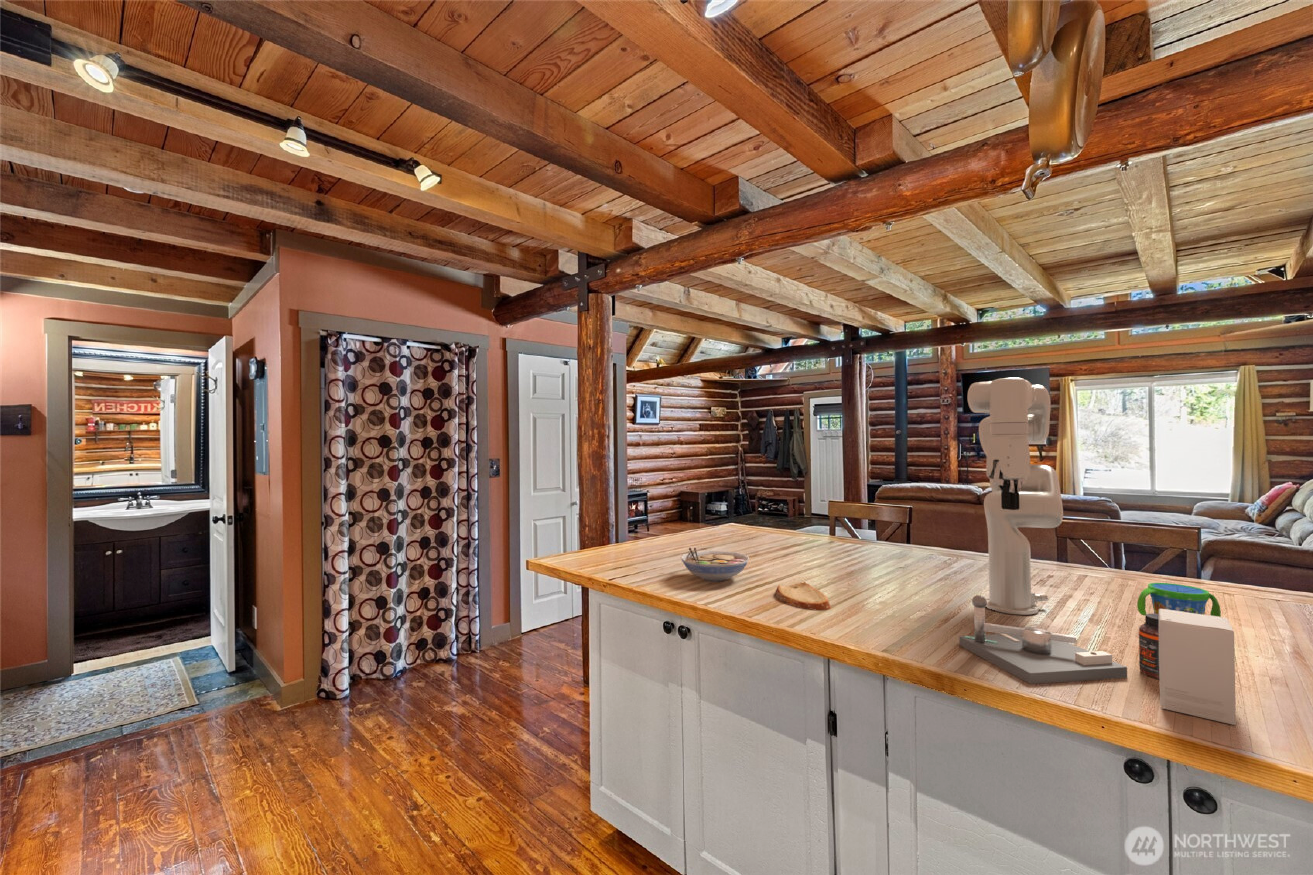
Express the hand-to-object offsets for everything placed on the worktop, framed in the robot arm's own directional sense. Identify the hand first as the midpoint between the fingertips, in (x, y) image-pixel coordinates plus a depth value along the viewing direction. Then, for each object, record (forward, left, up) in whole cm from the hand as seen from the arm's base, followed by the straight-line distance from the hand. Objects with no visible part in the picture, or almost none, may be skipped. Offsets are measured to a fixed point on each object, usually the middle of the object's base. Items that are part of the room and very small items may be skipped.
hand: (1010, 509), depth 129 cm
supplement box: (-3, +37, -29) cm, 47 cm away
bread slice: (+37, -35, -30) cm, 59 cm away
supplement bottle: (-10, +25, -29) cm, 40 cm away
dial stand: (+7, +15, -29) cm, 33 cm away
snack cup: (-39, +4, -29) cm, 49 cm away
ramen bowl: (+57, -62, -29) cm, 89 cm away
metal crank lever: (+9, +13, -27) cm, 31 cm away
